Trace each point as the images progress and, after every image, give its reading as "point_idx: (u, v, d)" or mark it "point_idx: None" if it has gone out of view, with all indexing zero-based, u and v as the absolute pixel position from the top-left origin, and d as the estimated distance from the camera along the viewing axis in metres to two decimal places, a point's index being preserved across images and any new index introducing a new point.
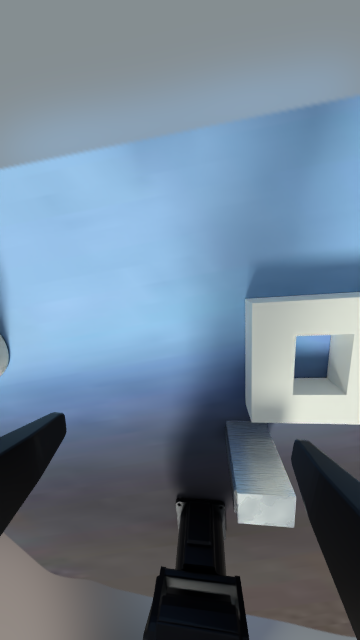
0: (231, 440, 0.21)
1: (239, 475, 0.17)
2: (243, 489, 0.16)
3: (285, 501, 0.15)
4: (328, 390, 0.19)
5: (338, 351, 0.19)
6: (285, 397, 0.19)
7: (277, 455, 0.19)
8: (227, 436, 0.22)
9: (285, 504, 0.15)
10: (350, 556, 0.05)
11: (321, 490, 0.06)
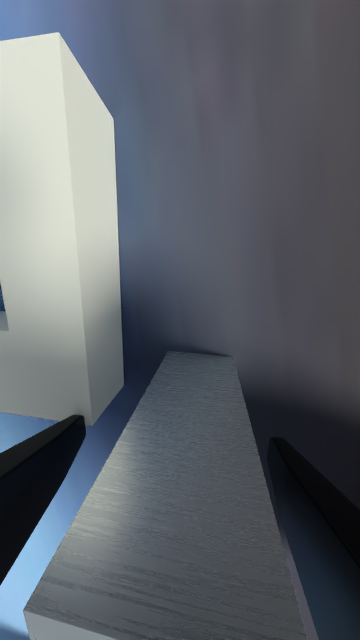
0: None
1: None
2: None
3: None
4: None
5: None
6: (18, 347, 0.08)
7: None
8: None
9: None
10: (311, 550, 0.05)
11: (289, 486, 0.06)
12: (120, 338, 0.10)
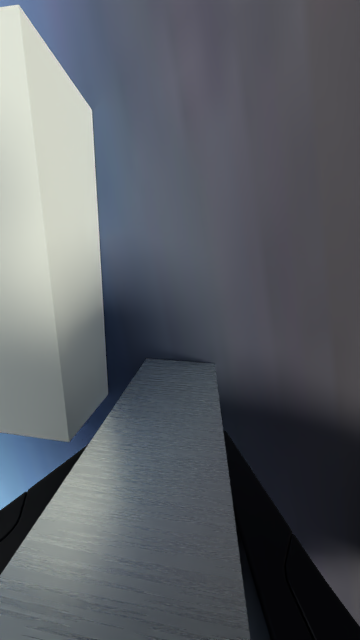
0: None
1: None
2: None
3: None
4: None
5: None
6: None
7: (100, 433, 0.05)
8: None
9: None
10: None
11: None
12: (103, 345, 0.09)
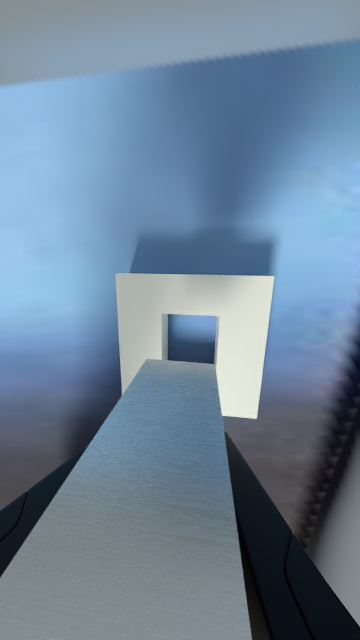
0: None
1: None
2: None
3: None
4: None
5: (216, 337, 0.18)
6: None
7: None
8: None
9: None
10: None
11: None
12: None
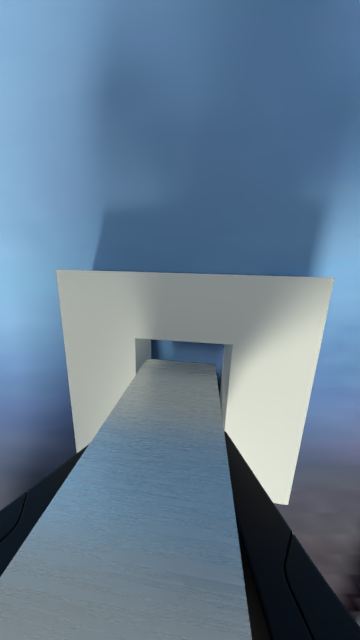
0: None
1: None
2: None
3: None
4: None
5: (224, 372, 0.11)
6: None
7: None
8: None
9: None
10: None
11: None
12: None
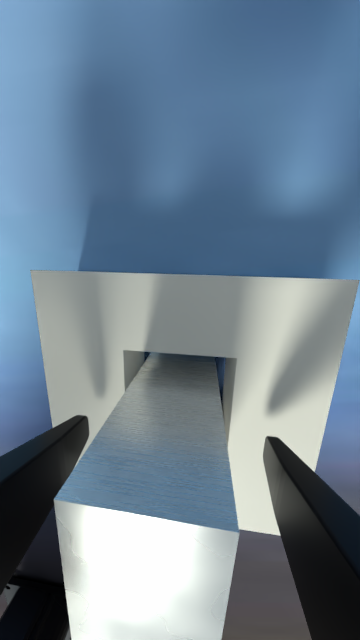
0: None
1: None
2: None
3: (86, 534, 0.04)
4: None
5: (227, 386, 0.10)
6: None
7: None
8: None
9: (99, 538, 0.04)
10: (304, 548, 0.05)
11: (283, 485, 0.06)
12: None
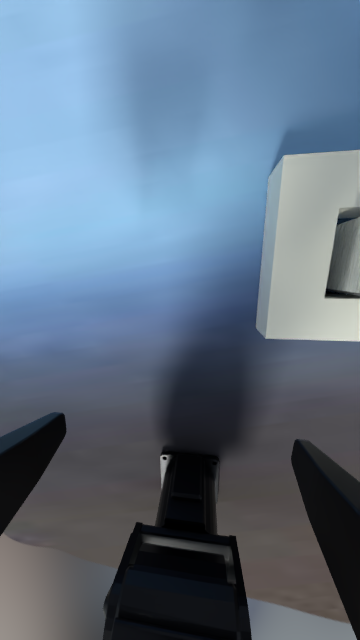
0: (334, 286, 0.14)
1: None
2: None
3: None
4: None
5: None
6: (314, 302, 0.14)
7: None
8: (330, 289, 0.15)
9: None
10: (350, 556, 0.05)
11: (321, 490, 0.06)
12: None
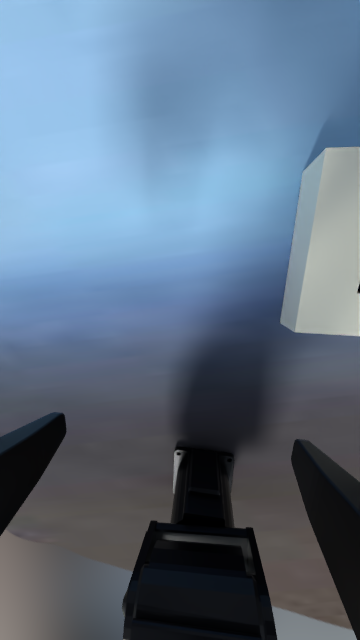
0: None
1: None
2: None
3: None
4: None
5: None
6: (346, 296, 0.14)
7: None
8: None
9: None
10: (350, 556, 0.05)
11: (321, 490, 0.06)
12: None
